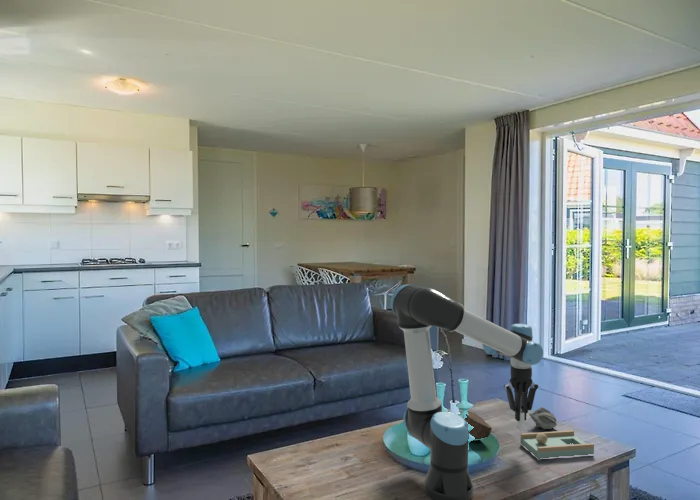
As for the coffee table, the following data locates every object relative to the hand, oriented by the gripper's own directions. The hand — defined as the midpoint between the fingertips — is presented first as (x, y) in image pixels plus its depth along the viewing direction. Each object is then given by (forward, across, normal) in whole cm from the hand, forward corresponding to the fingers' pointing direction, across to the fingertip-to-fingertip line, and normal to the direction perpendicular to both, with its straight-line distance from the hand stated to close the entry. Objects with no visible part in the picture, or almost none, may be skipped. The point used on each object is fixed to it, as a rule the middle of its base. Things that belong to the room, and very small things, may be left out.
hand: (520, 428), depth 184 cm
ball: (+4, +9, 0) cm, 10 cm away
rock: (+9, -12, +14) cm, 21 cm away
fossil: (+10, +22, +21) cm, 32 cm away
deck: (+9, +14, 0) cm, 17 cm away
